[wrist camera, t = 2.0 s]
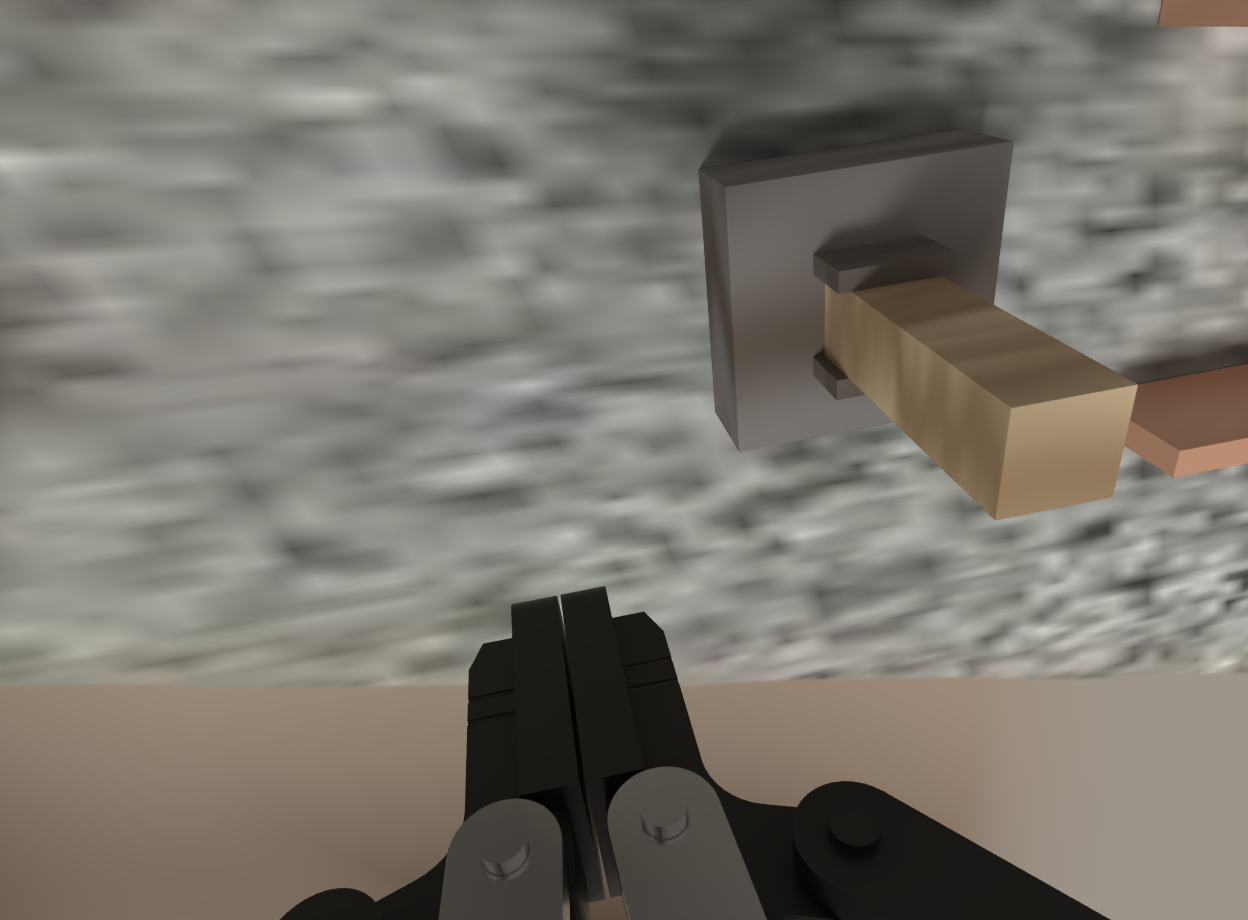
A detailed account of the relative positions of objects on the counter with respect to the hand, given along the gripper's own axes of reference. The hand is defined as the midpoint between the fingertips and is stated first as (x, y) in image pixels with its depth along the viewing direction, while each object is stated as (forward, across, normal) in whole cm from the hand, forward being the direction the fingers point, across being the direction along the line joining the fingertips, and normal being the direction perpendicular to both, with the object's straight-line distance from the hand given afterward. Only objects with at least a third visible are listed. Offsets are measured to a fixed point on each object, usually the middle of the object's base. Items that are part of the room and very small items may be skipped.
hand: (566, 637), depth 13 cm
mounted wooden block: (+14, -10, 0) cm, 17 cm away
